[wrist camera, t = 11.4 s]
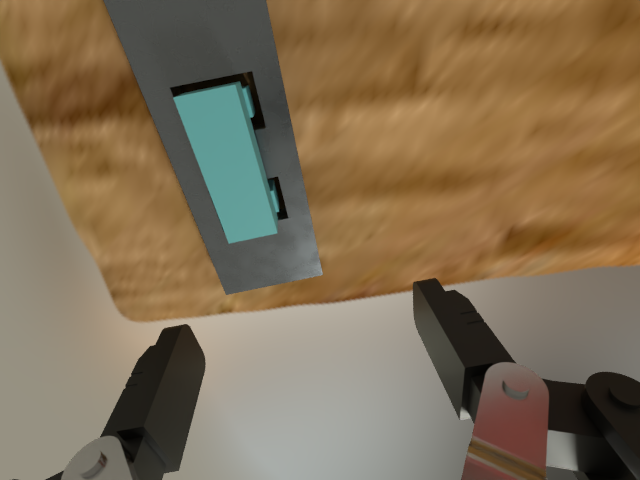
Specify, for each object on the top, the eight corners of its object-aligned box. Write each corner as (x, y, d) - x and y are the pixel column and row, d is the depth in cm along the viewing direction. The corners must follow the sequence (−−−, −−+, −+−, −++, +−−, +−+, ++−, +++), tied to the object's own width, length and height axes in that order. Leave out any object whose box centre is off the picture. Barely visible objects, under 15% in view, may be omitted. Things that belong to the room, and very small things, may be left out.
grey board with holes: (255, -52, 22) (252, -64, 20) (320, 261, 35) (322, 274, 33) (108, -24, 22) (90, -32, 19) (229, 280, 35) (226, 294, 33)
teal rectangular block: (246, 78, 25) (239, 83, 20) (280, 203, 31) (280, 232, 26) (191, 89, 25) (169, 98, 20) (234, 212, 31) (225, 244, 26)
